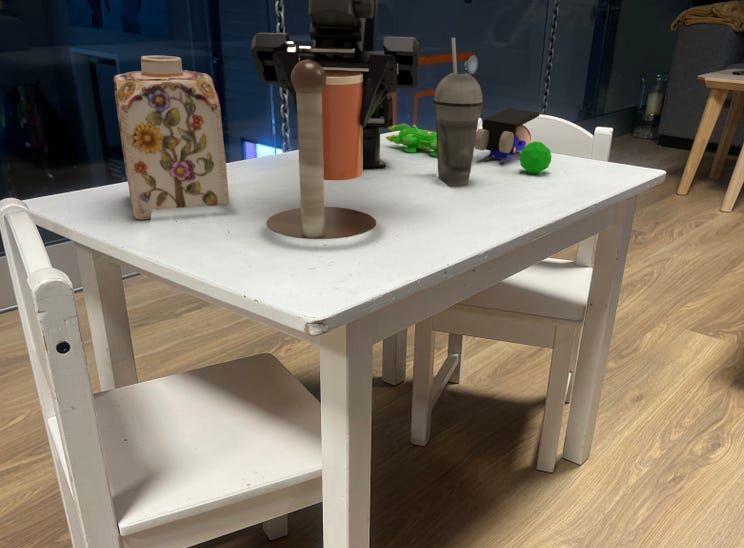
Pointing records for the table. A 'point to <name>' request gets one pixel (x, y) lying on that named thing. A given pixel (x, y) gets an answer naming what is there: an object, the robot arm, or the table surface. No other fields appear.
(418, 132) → the crocodile figurine
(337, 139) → the tumbler
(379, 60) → the robot arm
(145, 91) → the decorative jar
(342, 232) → the towel holder
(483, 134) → the figurine character
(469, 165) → the beverage cup
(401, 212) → the table surface
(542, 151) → the polyhedron
